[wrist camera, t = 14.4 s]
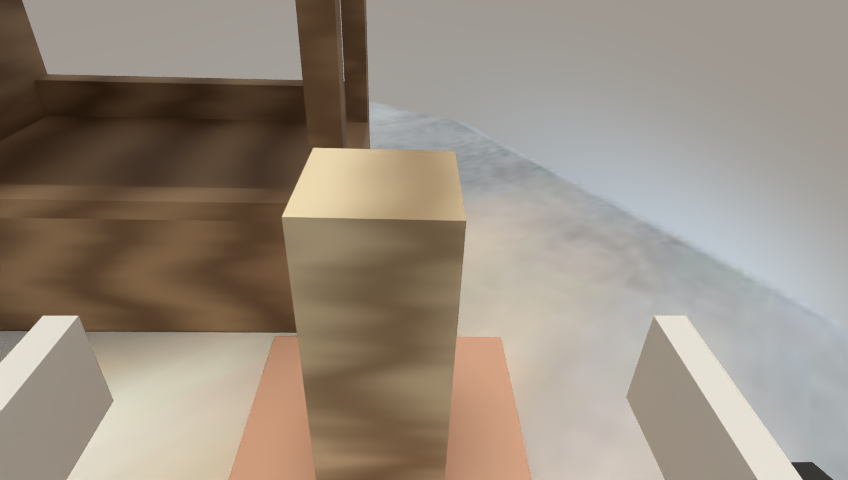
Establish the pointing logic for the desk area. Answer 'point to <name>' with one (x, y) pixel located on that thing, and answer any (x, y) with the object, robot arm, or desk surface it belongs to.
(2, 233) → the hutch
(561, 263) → the desk surface
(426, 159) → the beech block
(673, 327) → the robot arm
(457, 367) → the terracotta tile
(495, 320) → the desk surface
